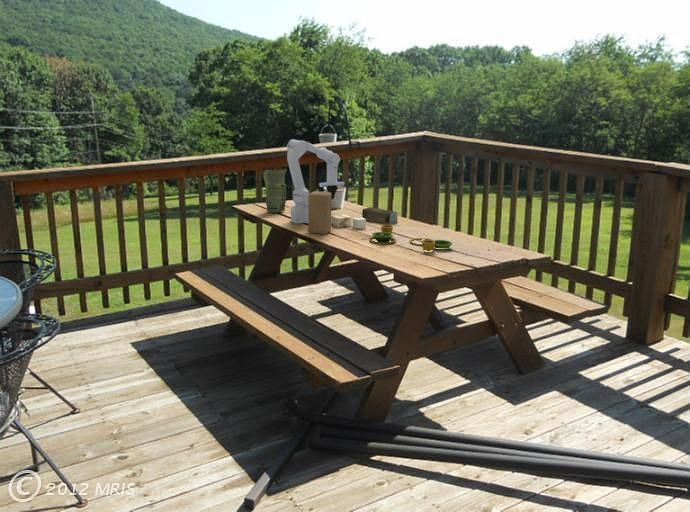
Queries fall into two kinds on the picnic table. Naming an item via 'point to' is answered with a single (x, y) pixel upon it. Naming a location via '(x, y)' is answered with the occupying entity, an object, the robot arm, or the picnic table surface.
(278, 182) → the green vase
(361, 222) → the numbered cube seven
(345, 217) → the plain block
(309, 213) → the block
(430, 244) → the tableware set
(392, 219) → the beverage carton
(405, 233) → the picnic table surface
